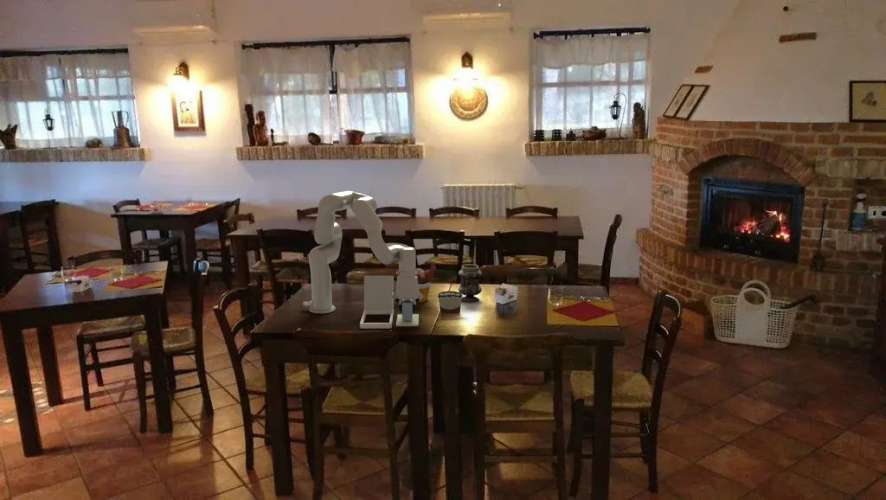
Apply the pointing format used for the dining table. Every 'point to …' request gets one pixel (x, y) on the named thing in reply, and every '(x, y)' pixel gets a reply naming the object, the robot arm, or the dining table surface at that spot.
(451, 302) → the food container
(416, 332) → the dining table surface
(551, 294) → the dining table surface
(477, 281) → the apothecary jar
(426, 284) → the bucket of meat
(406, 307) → the box
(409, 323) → the mat
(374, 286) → the case
